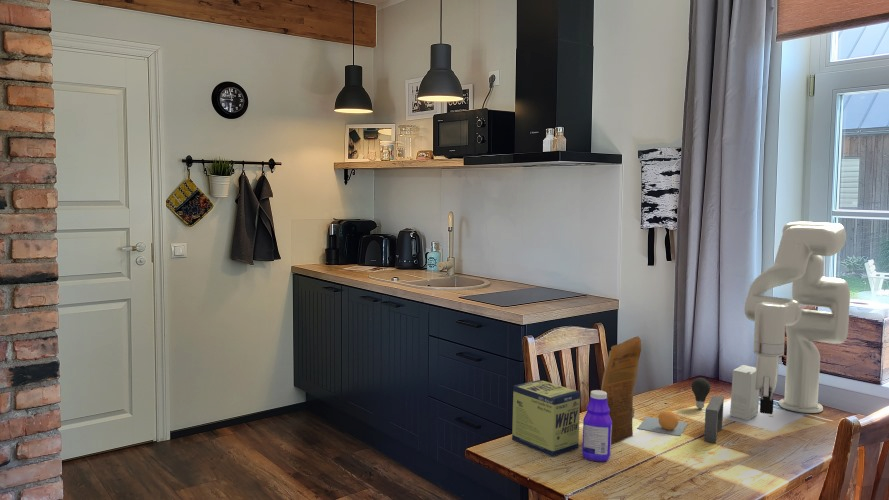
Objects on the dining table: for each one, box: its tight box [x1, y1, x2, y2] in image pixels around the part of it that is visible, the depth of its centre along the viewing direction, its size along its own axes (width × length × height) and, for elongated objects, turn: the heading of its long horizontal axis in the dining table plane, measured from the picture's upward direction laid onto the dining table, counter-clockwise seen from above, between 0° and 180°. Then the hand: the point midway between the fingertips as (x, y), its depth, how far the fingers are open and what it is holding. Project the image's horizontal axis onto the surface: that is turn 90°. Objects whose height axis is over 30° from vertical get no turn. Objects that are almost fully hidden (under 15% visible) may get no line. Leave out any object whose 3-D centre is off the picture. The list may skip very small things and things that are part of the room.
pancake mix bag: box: [600, 335, 642, 445], centre depth 194 cm, size 7×19×28 cm, turn 133°
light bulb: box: [691, 377, 711, 410], centre depth 222 cm, size 6×6×10 cm
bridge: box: [703, 395, 725, 444], centre depth 198 cm, size 3×14×9 cm, turn 152°
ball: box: [658, 410, 679, 430], centre depth 203 cm, size 6×6×6 cm
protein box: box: [511, 379, 581, 457], centre depth 189 cm, size 10×16×16 cm
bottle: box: [581, 389, 612, 462], centre depth 180 cm, size 7×6×17 cm
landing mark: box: [636, 416, 688, 437], centre depth 205 cm, size 12×12×1 cm
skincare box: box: [729, 364, 761, 421], centre depth 216 cm, size 8×6×15 cm
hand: (766, 412), depth 193 cm, fingers closed
